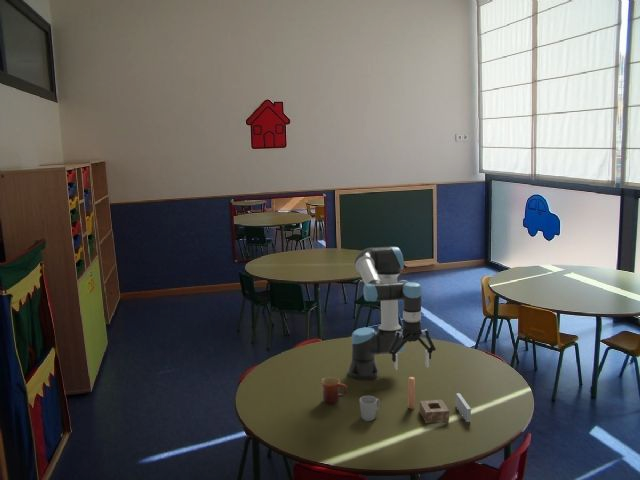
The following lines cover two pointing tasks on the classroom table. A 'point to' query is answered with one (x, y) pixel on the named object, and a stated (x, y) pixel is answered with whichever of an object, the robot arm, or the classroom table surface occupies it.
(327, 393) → the mug
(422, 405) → the block
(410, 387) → the dowel
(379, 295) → the robot arm
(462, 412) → the base
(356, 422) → the classroom table surface
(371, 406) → the cup
